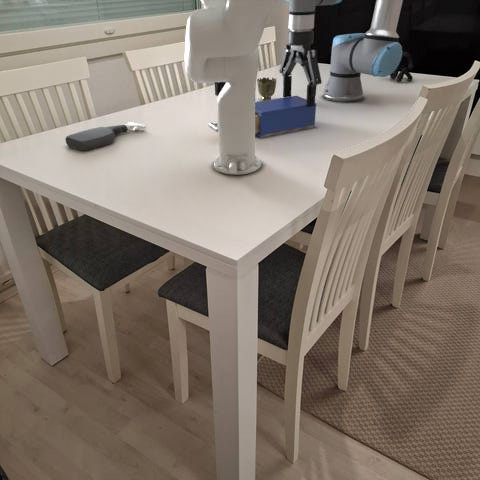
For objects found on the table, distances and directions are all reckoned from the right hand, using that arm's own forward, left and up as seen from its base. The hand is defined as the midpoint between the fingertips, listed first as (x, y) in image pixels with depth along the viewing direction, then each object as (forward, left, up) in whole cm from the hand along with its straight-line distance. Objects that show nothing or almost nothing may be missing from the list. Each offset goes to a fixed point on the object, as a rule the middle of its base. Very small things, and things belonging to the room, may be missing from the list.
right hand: (298, 101), depth 145 cm
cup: (-19, -25, -8) cm, 32 cm away
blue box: (+7, -3, -8) cm, 10 cm away
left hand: (+25, -12, +6) cm, 28 cm away
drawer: (+17, -8, -7) cm, 20 cm away
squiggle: (-81, +5, -8) cm, 81 cm away
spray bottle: (+46, -41, -8) cm, 62 cm away
